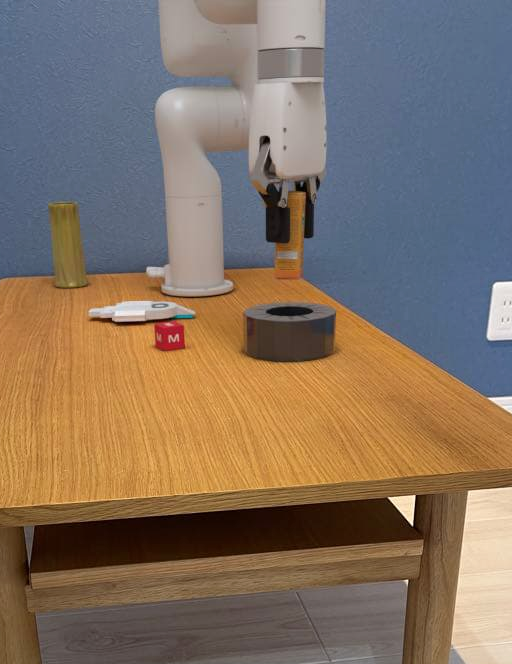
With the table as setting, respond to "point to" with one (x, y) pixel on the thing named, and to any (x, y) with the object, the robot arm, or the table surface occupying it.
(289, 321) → the tape roll
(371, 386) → the table surface
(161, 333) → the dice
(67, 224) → the vase
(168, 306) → the toy rocket
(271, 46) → the robot arm
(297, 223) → the supplement box
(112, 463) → the table surface
